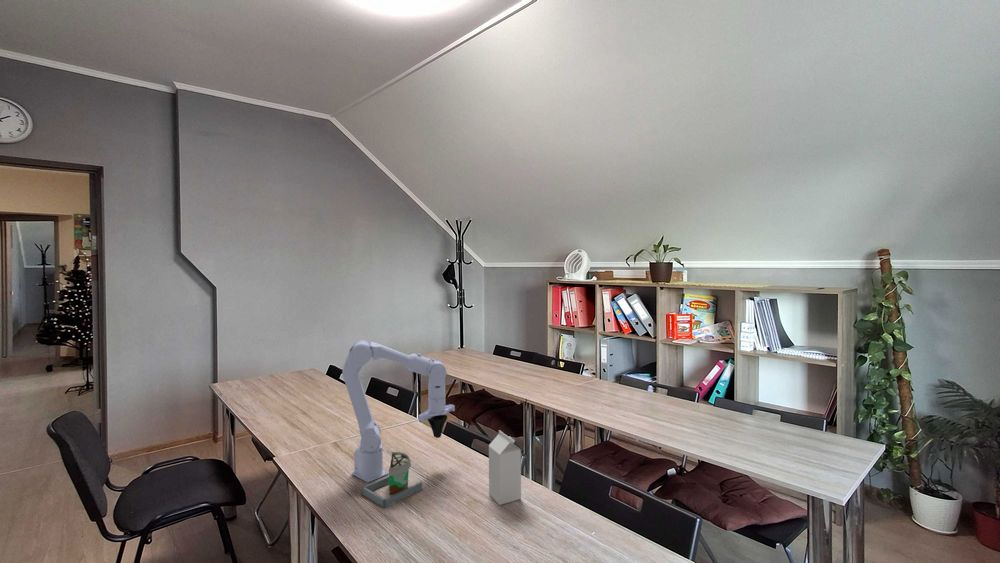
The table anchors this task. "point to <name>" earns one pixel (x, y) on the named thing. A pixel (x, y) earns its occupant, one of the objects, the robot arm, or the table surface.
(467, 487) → the table surface
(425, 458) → the table surface
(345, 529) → the table surface
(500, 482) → the milk carton
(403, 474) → the food container
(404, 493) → the u-shaped bracket
